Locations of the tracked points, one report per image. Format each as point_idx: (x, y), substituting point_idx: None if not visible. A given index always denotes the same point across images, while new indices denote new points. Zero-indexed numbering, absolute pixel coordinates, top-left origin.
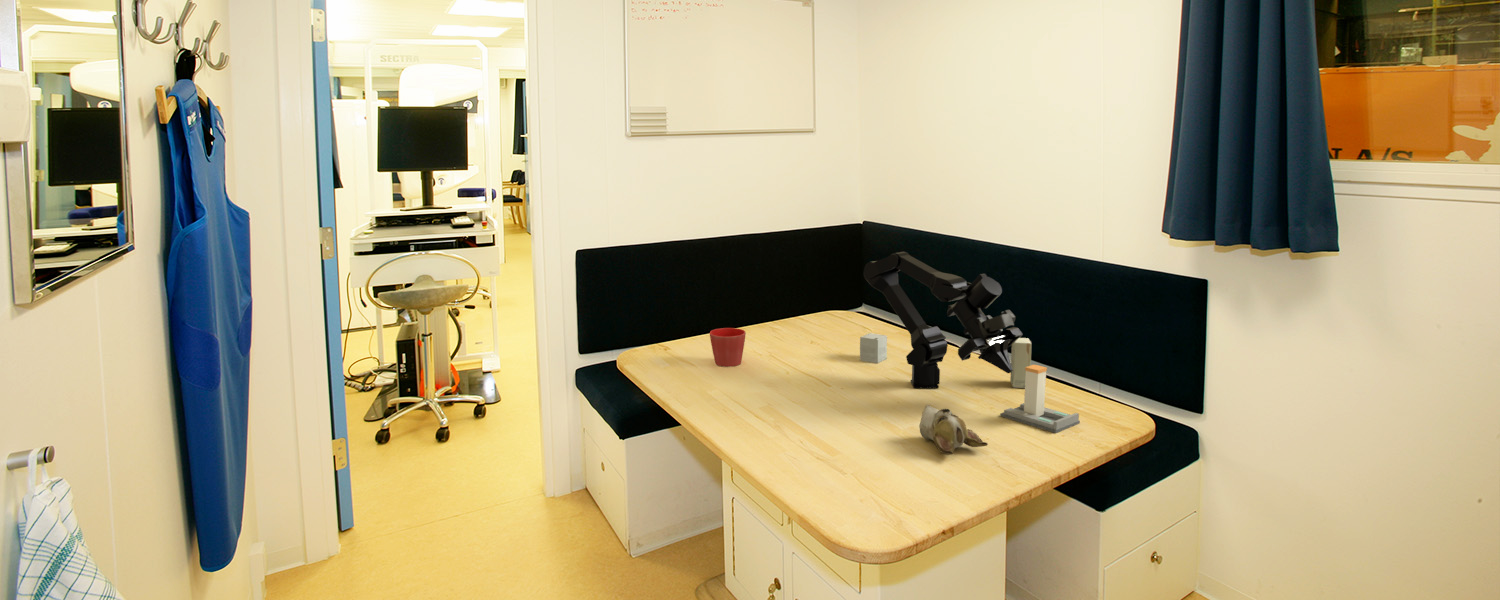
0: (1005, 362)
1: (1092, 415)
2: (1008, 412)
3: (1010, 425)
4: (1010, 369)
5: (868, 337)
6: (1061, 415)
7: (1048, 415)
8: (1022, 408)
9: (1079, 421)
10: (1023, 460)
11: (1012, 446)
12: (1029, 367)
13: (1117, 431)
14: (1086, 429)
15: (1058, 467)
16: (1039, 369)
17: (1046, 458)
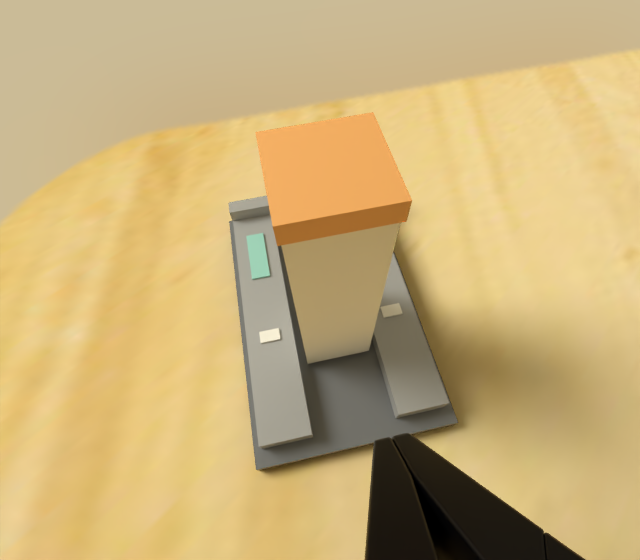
0: (474, 493)
1: (122, 260)
2: (439, 378)
3: (474, 314)
4: (405, 441)
5: None
6: (270, 244)
7: (287, 294)
8: (310, 423)
9: (231, 222)
10: (585, 117)
11: (570, 182)
12: (382, 182)
13: (200, 150)
14: (260, 188)
15: (518, 74)
16: (347, 122)
17: (517, 107)
